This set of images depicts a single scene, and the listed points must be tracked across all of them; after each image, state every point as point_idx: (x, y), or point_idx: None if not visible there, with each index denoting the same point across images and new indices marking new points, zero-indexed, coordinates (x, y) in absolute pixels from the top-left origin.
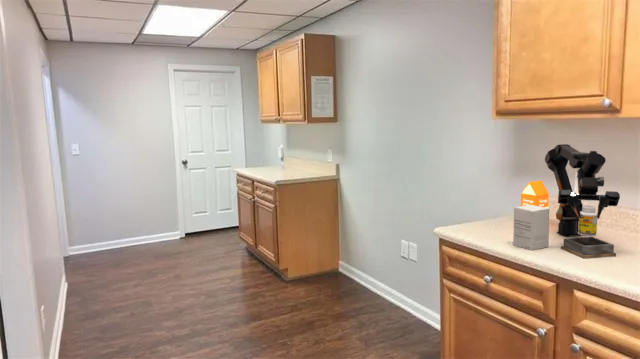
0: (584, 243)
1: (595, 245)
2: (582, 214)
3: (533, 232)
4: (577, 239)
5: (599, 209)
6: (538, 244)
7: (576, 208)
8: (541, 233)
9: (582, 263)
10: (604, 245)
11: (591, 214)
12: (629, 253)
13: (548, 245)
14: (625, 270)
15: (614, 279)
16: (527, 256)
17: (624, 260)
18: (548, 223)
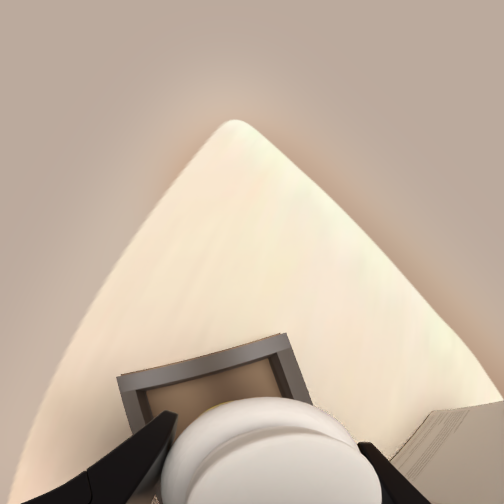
0: None
1: (219, 361)
2: (349, 437)
3: (483, 407)
4: None
5: (128, 474)
6: (424, 435)
7: (421, 497)
8: (446, 449)
9: (299, 273)
10: (170, 365)
11: (266, 401)
12: (55, 410)
13: None
14: (181, 209)
15: (251, 149)
16: (447, 331)
17: (119, 318)
18: (446, 498)
